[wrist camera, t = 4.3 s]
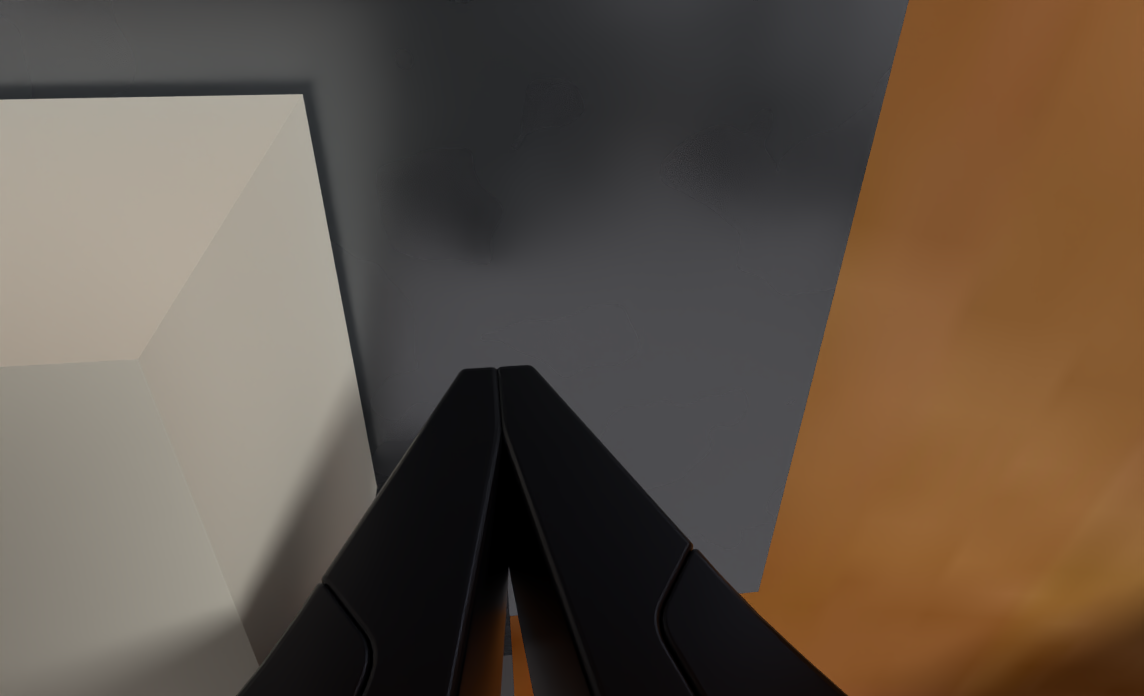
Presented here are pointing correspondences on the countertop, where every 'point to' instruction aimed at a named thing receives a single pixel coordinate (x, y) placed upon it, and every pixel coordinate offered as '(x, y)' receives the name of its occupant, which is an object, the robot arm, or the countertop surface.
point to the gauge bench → (552, 203)
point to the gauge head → (166, 392)
